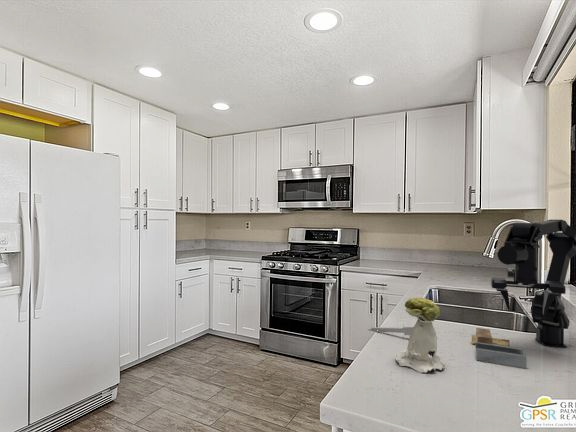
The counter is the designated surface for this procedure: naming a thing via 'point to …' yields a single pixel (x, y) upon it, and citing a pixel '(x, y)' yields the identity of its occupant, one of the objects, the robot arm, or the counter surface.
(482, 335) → the walnut beam
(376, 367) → the counter surface
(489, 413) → the counter surface
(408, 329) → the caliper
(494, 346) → the v block
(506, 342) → the golden bar
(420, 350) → the ceramic tree figurine
